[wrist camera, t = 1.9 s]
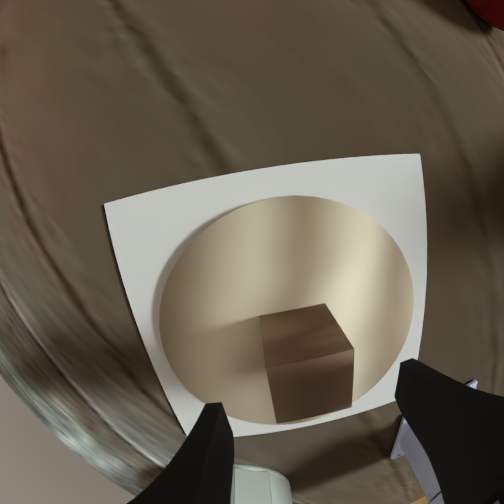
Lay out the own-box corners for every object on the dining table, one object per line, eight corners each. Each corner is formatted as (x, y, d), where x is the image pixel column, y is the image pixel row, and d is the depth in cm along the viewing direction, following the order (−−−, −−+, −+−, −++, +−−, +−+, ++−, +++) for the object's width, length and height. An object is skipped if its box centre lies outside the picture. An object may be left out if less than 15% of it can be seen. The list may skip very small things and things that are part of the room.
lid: (403, 180, 13) (466, 183, 8) (396, 387, 17) (427, 433, 12) (132, 225, 14) (79, 247, 8) (201, 426, 17) (193, 482, 12)
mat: (415, 154, 14) (419, 153, 13) (407, 391, 18) (410, 394, 17) (107, 203, 14) (103, 203, 13) (189, 434, 18) (188, 438, 18)
